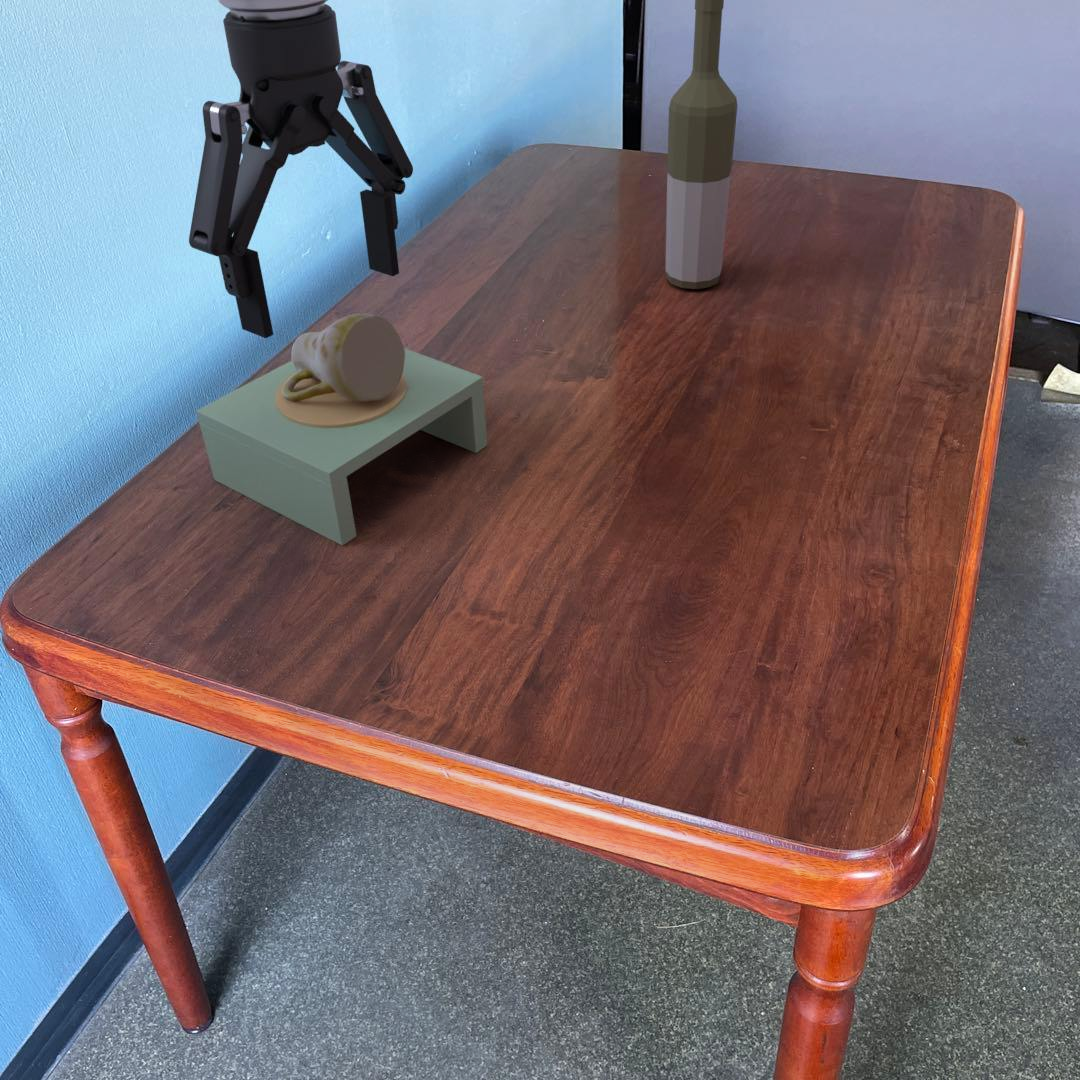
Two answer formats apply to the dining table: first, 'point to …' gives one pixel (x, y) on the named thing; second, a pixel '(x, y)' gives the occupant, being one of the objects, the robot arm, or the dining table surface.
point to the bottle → (700, 160)
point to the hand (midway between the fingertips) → (324, 300)
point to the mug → (349, 359)
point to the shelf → (331, 437)
